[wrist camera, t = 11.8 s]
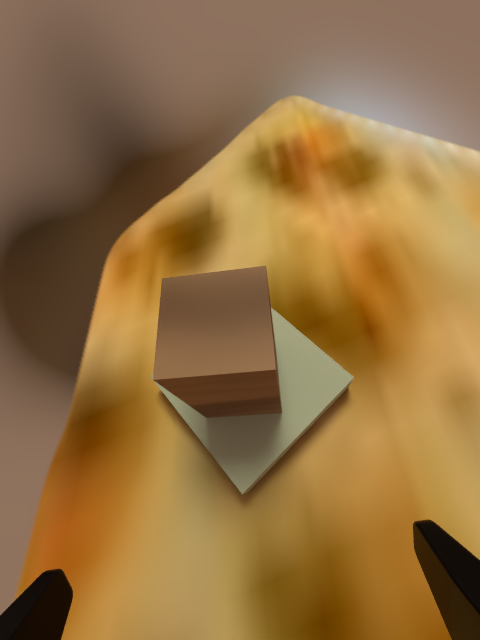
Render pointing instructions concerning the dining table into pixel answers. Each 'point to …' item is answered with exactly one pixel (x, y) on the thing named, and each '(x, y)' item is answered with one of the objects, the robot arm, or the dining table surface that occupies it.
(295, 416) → the sage slab
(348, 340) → the dining table surface
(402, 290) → the dining table surface
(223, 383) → the walnut block
